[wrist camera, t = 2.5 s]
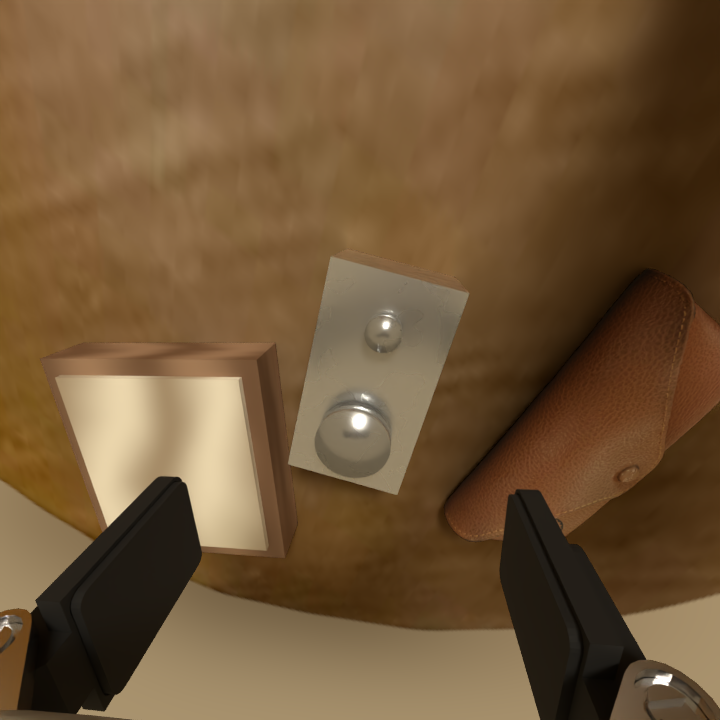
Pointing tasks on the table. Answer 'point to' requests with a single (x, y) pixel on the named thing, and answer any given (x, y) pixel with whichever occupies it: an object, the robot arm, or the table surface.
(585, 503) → the sunglasses case
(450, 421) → the table surface
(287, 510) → the stand
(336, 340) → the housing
